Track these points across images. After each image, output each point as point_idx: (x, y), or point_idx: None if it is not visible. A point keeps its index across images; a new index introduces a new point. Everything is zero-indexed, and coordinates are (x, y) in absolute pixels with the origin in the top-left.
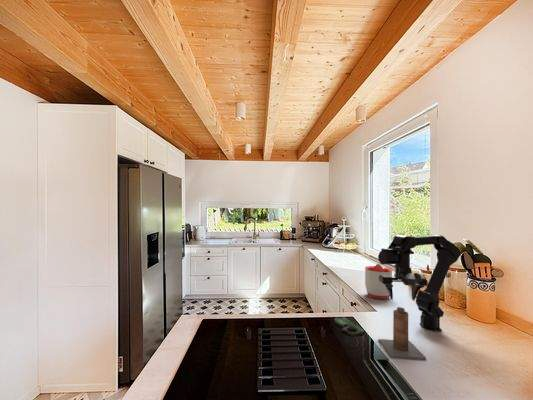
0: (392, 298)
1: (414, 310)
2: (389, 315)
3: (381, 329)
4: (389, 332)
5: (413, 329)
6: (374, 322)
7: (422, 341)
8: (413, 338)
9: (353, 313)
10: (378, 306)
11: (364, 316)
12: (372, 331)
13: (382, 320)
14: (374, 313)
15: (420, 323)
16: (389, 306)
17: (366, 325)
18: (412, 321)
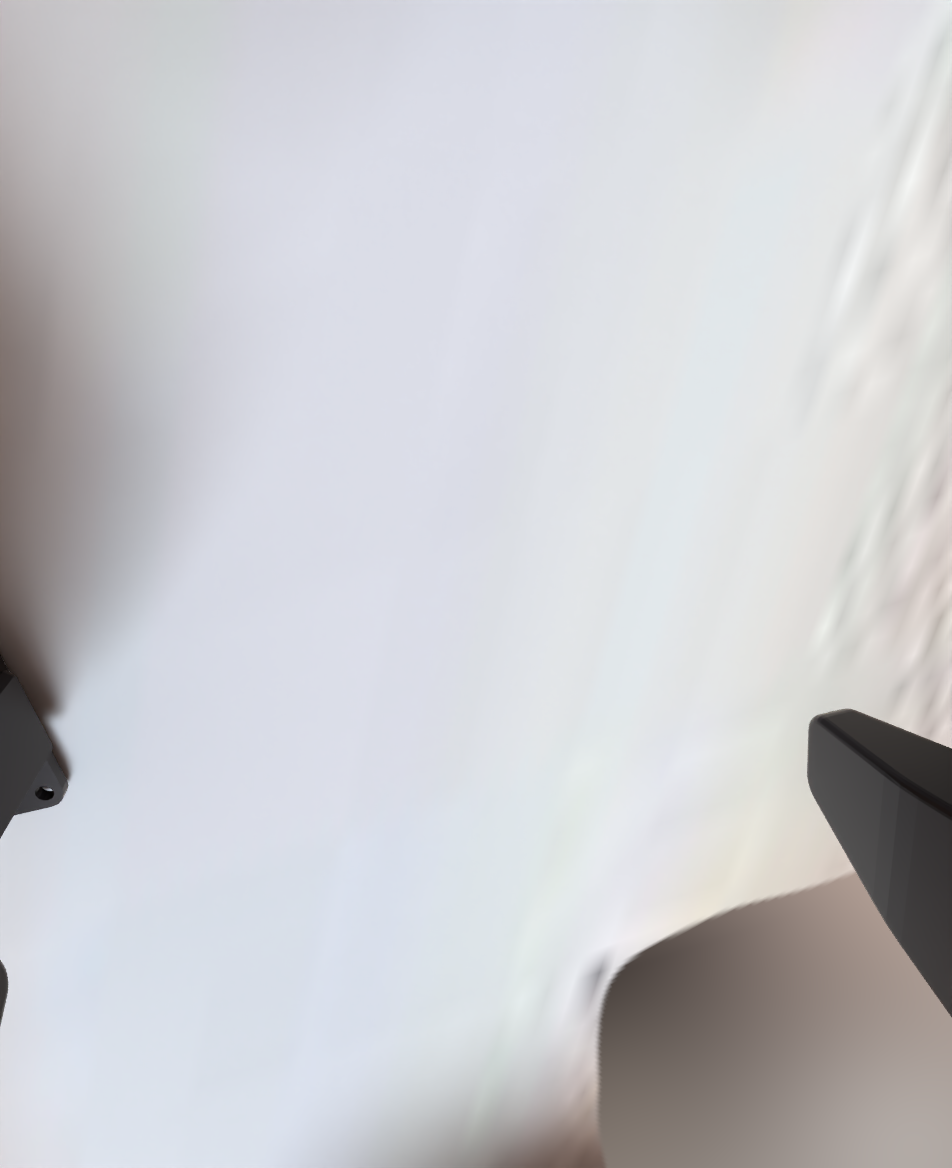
0: (846, 732)
1: (94, 1163)
2: (457, 912)
3: (710, 389)
4: (614, 307)
5: (192, 563)
6: (735, 617)
7: (97, 67)
8: (249, 166)
9: None
10: (533, 1104)
11: None
12: (882, 256)
13: (598, 724)
14: (643, 900)
15: (52, 782)
16: (396, 1151)
17: (892, 468)
18: (167, 841)
